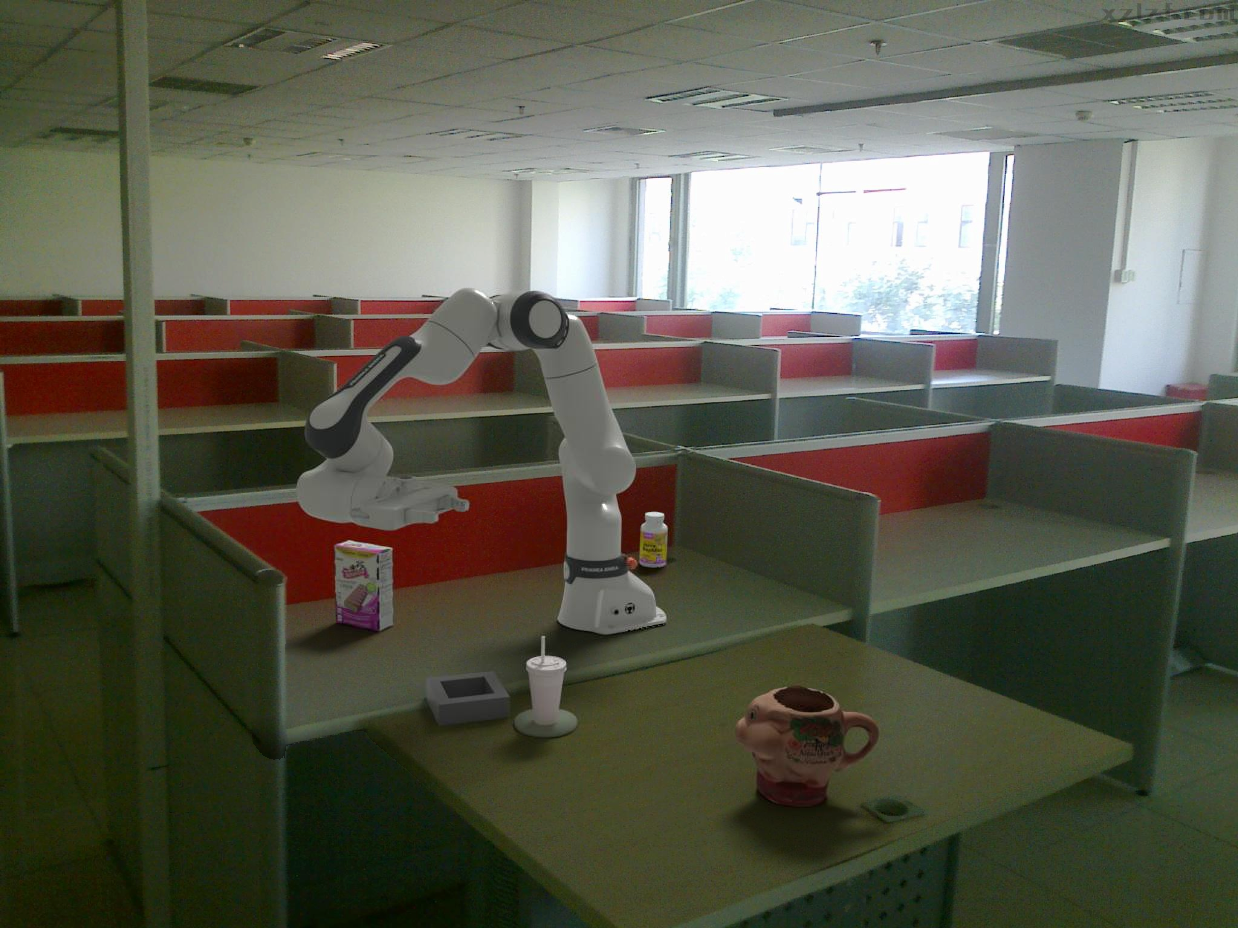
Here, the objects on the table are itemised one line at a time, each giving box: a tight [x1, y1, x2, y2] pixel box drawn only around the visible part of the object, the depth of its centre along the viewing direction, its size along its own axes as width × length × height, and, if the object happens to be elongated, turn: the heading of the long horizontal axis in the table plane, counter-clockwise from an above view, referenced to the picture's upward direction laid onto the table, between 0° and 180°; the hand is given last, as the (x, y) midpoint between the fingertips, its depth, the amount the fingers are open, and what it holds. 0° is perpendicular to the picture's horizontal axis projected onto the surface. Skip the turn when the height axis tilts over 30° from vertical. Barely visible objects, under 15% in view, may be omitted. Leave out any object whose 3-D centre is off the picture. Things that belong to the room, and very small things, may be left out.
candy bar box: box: [333, 539, 394, 632], centre depth 213 cm, size 11×5×16 cm, turn 65°
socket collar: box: [425, 670, 511, 727], centre depth 175 cm, size 12×12×4 cm
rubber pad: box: [513, 708, 578, 739], centre depth 170 cm, size 10×10×1 cm
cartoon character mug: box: [734, 685, 880, 808], centre depth 149 cm, size 20×12×14 cm, turn 94°
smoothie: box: [525, 635, 567, 725], centre depth 169 cm, size 6×6×14 cm
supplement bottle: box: [638, 511, 668, 569], centre depth 262 cm, size 7×7×13 cm
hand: (451, 511), depth 174 cm, fingers open, 8 cm apart
